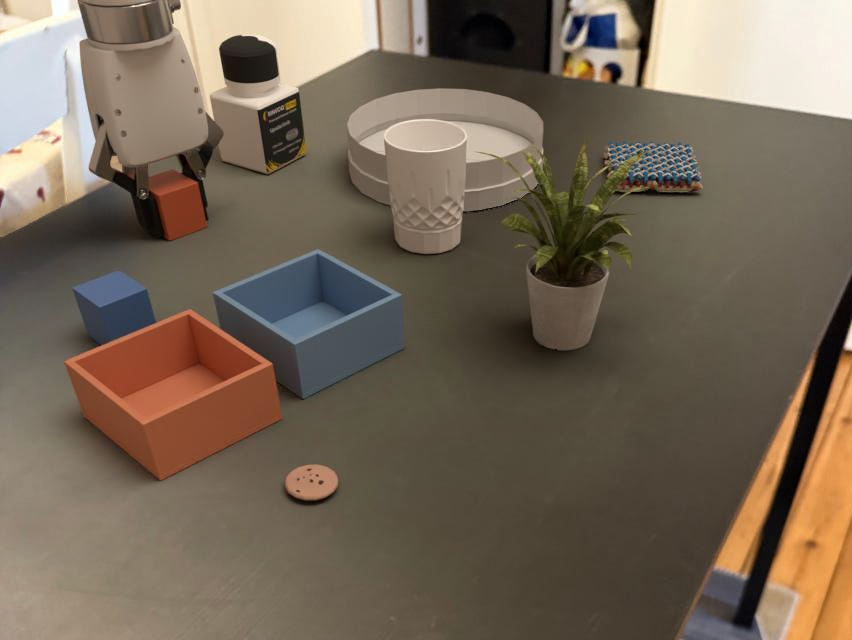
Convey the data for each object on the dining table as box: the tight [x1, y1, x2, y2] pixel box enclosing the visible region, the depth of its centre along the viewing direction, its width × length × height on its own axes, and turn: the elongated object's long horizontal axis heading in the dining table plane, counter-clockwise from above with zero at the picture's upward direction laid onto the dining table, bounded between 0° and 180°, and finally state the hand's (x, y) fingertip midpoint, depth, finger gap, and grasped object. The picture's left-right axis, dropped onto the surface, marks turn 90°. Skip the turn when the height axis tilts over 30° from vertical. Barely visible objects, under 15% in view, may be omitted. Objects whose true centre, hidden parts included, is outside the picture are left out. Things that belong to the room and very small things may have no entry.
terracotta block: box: [148, 168, 208, 242], centre depth 93 cm, size 4×4×4 cm
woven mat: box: [602, 140, 704, 192], centre depth 104 cm, size 10×11×2 cm
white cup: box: [383, 119, 467, 255], centre depth 90 cm, size 8×8×10 cm
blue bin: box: [212, 248, 406, 400], centre depth 78 cm, size 11×11×5 cm
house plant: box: [474, 135, 650, 351], centre depth 76 cm, size 14×14×16 cm
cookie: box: [284, 464, 339, 501], centre depth 67 cm, size 4×4×1 cm
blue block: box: [72, 270, 157, 346], centre depth 79 cm, size 4×4×4 cm
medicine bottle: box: [209, 33, 307, 175], centre depth 102 cm, size 7×7×12 cm
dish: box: [346, 88, 544, 211], centre depth 103 cm, size 22×22×5 cm
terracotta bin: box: [63, 308, 283, 481], centre depth 71 cm, size 11×11×5 cm
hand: (175, 223), depth 95 cm, fingers closed on terracotta block, 4 cm apart
